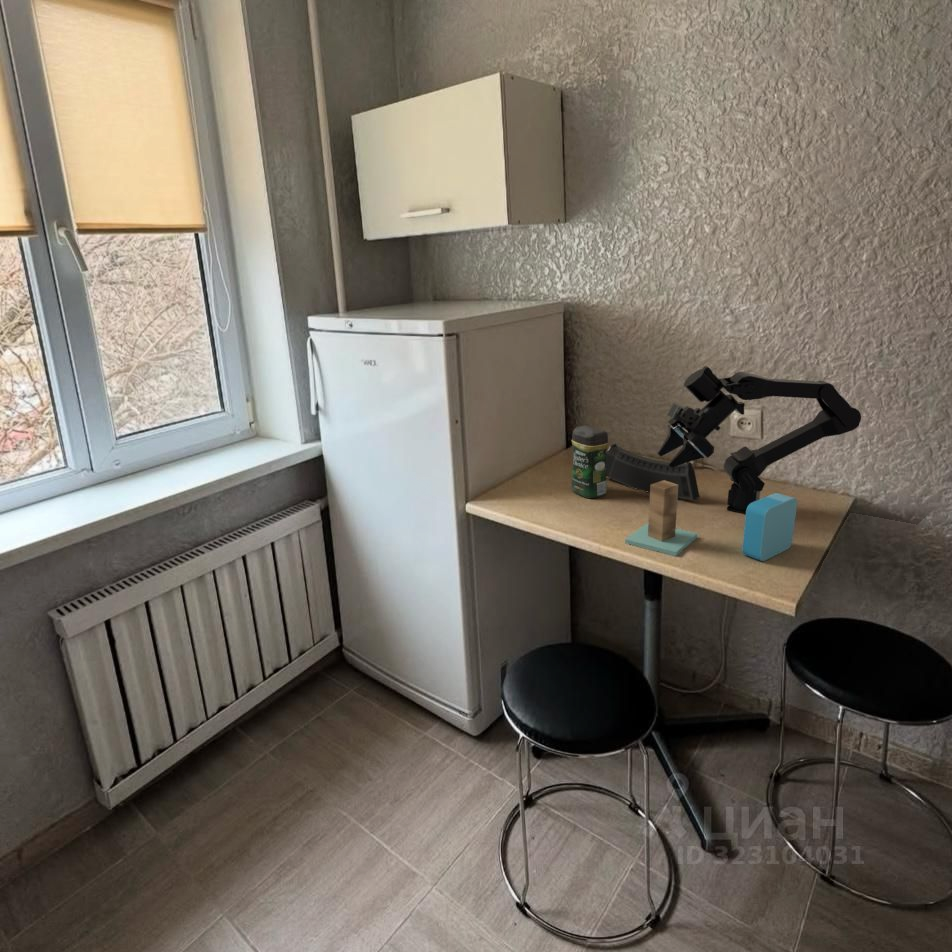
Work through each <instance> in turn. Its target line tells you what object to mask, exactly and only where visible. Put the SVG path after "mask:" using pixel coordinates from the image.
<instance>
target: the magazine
mask: <svg viewBox="0 0 952 952" xmlns="http://www.w3.org/2000/svg"><path fill="white" fill-rule="evenodd" d="M670 462H671V461H663V460H658V459H653V458H648V457H645V456H642V455H638V454H636V453H633V452H631V451H628V450H626V449H624V448H622V447H620V446H618V445H617V444H616V443H612V444H610V446H608V448H607V451H606V478H608V479H609V481H610V480H612V481H615V482H617V483H620V484H622V485H623V486H624V485H625V486H626V485H627V487H628V486H630V487H629V488H631V487H633V488H632V489H634V488H637V489H641V490H644V491H648V492H650V485H651V484H654V483H657V482H660V481H663V480H665V481H668V482H671V483H675V484H678V499H684V500H691V501H696V500H698V499H699V498H700V492H699V488H698V487H699V486H698V481H697V476H696V472H695V469H694V467H693V465H692V462H691V461H690V462H687V463H684V464H681V465H678V466H675V467H672V468H671V467H670V466H669V463H670ZM637 489H636V490H637ZM641 490H640V491H641ZM644 491H643V492H644ZM648 492H647V493H648Z"/></svg>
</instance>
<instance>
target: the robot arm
mask: <svg viewBox="0 0 952 952" xmlns="http://www.w3.org/2000/svg"><path fill="white" fill-rule="evenodd" d="M683 386H684V388H685V389H687V390H688V391H689V393H691V394H692V396H694V397H695V398H696V399H697V401H698V402H700V403H703V402H706V404H705V405H704V406H703V407H702V408H699V407H696V408H695V409H694V408H692V407H690V406H688V405H687V406H685V407H684V406H682V405H680V404H678V403H675V402H673V403H672V406H671V407H670V409H669V410H668V412H667V416H669V417H670V419H669V420H668V421H667V423H668V425H667V428H668V431H667V432H668V435H667V437H666V439H665V440H664V442H663V443H662V446H661V447H660V449H659V451H657V455H658V456H659V457H663V456H665V455H667V454H669V453H670V452H672V451H674V450H676V449H677V448H680V447H681V446H682V447H681V448H680V450H679V451H678V452H677V453H676V454H675V456H673V458H671V460H670V461H669V462H670V463H669V466H670V467H671V468H672V467H675V466H678V465H681V464H684V463H689V462H690V463H691V462H692V461H696V460H699V459H701V460H702V459H705V457H706V458H707V459H709V458H710V456H712V455H713V454H714V452H715V447H714V445H713V444H711V442H710V441H709V439H707V437H709V435H710V434H712V432H714V431H716V432H719V430H720V429H721V427H720V426H721V424H723V422H725V420H726V419H727V418H729V417H730V416H731V415H732V414H733V413H734V412H735V411H736V413H738V414H740V415H741V416H743V415H745V405H746V404H745V403H744V402H743V401H738V400H737V399H736V398H735V397H734V396H736V397H738V398H739V399H741V400H744V401H752V400H761V399H765V398H769V397H778V398H779V397H783V398H797V399H799V398H801V399H814V400H815V399H816V401H817V403H818V406H819V407H820V408H821V410H820V411H819V412H818V413H817V415H815V417H814V418H813V419H812V420H811V421H810V422H808V423H806V424H804V425H802V426H800V427H798V428H796V429H794V430H792V431H790V432H789V433H786V434H784V435H782V436H781V437H779V438H777V439H775V440H773V441H770V442H769V443H767V444H765V445H764V446H761V447H759V448H757V449H753V450H752V449H750V448H749V447H747V446H743V447H741V448H740V449H738V450H737V451H735V452H730V455H729V456H728V457H726V459H725V460H724V464H723V470H724V472H725V474H726V475H727V476H728V477H730V481H732V482H733V483H732V484H731V486H730V488H729V489H728V491H727V492H728V493H727V502H726V504H727V507H726V510H727V511H732V512H736V513H741V514H745V515H746V510H747V507H748V505H749V504H750V503H752V502H755V501H757V500H759V499H760V496H761V492H762V491H763V488H764V487H765V482H764V481H763V480H762V479H761V478H760V476H761V475H762V474H763V473H764V471H765V470H766V469H767V468H768V466H770V465H771V464H774V463H775V462H778V461H780V460H783V458H784V459H785V458H786V457H788V456H790V455H793V453H795V452H797V451H799V450H801V449H804V448H805V447H808V446H809V445H812V444H813V443H815V442H817V441H819V440H821V439H823V438H828V437H834V436H840V435H844V434H846V433H849V432H853V431H855V430H856V429H857V428H858V427H859V426H860V423H861V421H862V415H861V412H860V410H858V409H857V408H855V407H853V406H851V405H850V403H849V402H848V401H847V400H846V399H845V398H844V397H843V396H842V395H841V394H840V392H838V391H837V389H836V388H835V387H834V385H833V384H832V383H829V382H827V381H825V380H816V381H815V380H799V379H785V378H784V379H783V378H781V379H779V378H769V377H764V376H761V375H757V374H755V373H749V372H745V371H738V372H735V373H734V374H733V375H732V376H730V377H729V376H727V377H721V378H718V377H717V376H716V375H715V373H714V372H713V371H712V370H711V368H710V367H709V366H707V365H704V366H703V367H702V368H700V369H698V370H696V371H695V372H693V373H691V374H689V376H688V377H687V378H686V379H685V381H684V383H683ZM722 390H724V391H725V392H727V393H728V394H725V393H724V392H723V391H722ZM733 395H734V396H733ZM704 456H705V457H704Z"/></svg>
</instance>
